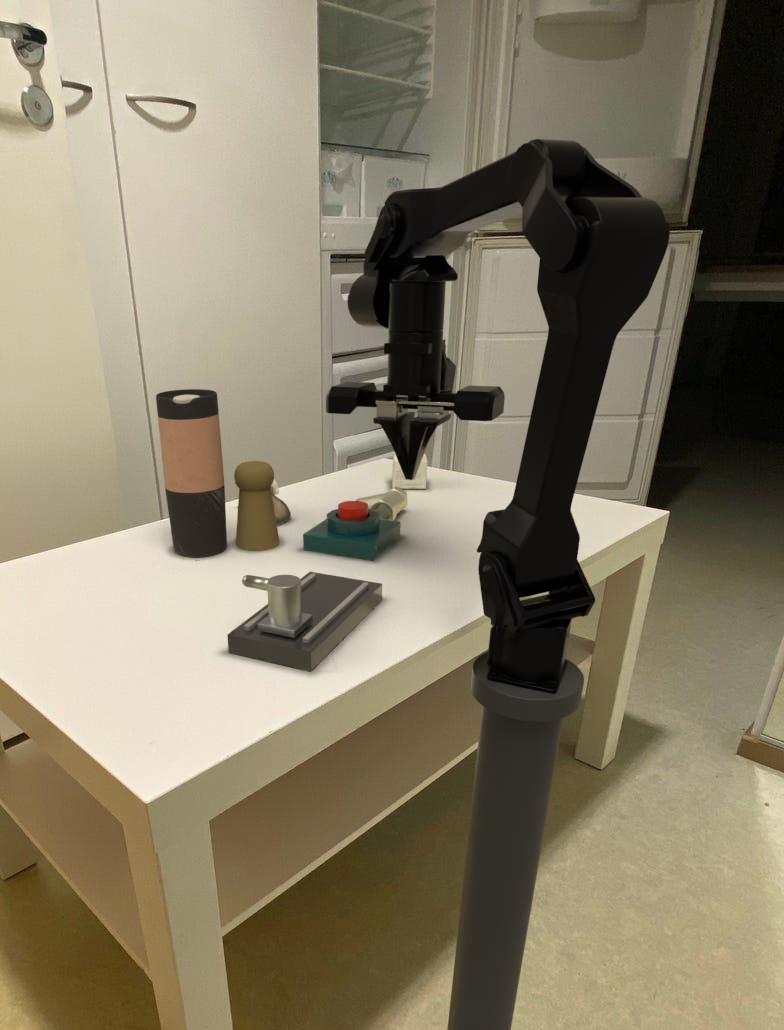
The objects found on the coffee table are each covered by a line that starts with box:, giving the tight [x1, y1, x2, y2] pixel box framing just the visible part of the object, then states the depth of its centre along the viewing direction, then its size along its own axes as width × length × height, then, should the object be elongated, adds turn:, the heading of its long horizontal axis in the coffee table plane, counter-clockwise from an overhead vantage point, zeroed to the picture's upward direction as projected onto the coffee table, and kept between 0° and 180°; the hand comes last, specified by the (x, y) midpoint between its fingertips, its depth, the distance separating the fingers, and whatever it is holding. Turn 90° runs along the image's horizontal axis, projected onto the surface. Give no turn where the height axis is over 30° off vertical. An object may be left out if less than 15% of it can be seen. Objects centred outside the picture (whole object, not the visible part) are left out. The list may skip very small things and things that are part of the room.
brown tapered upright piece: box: [233, 460, 281, 551], centre depth 97 cm, size 6×6×11 cm
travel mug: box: [155, 388, 228, 558], centre depth 93 cm, size 8×8×20 cm
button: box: [337, 500, 368, 520], centre depth 96 cm, size 4×4×2 cm
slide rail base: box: [226, 571, 383, 672], centre depth 76 cm, size 9×18×2 cm, turn 153°
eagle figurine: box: [234, 479, 292, 526], centre depth 109 cm, size 8×7×9 cm
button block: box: [302, 508, 402, 561], centre depth 98 cm, size 10×10×4 cm
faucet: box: [241, 574, 313, 638], centre depth 70 cm, size 7×4×5 cm, turn 63°
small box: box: [391, 453, 428, 490], centre depth 123 cm, size 6×6×5 cm
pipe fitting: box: [355, 486, 409, 521], centre depth 108 cm, size 8×4×7 cm
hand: (410, 479), depth 83 cm, fingers closed
